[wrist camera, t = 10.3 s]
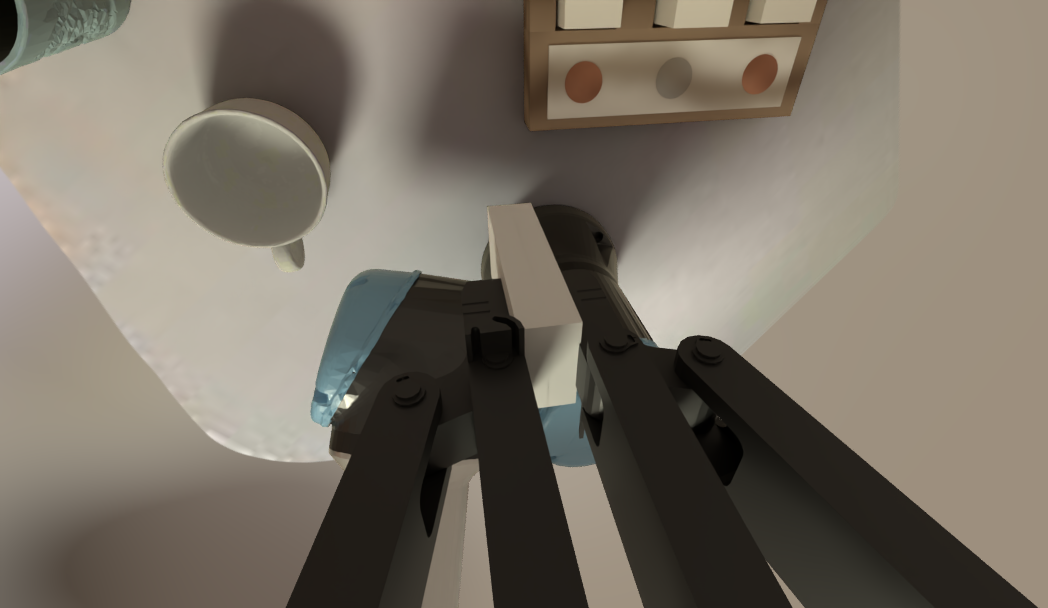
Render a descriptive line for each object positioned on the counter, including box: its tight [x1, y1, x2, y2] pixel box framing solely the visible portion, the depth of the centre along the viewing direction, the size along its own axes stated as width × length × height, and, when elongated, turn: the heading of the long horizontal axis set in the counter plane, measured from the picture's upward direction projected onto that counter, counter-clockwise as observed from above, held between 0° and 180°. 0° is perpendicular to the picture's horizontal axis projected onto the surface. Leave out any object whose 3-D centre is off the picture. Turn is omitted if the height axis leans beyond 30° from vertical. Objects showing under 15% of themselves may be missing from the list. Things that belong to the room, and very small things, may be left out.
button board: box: [523, 0, 828, 131], centre depth 38 cm, size 16×25×3 cm, turn 90°
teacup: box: [163, 98, 331, 272], centre depth 38 cm, size 14×11×8 cm
